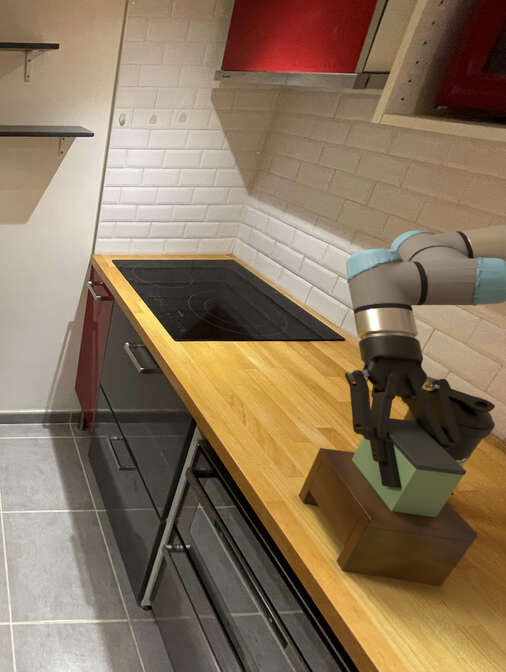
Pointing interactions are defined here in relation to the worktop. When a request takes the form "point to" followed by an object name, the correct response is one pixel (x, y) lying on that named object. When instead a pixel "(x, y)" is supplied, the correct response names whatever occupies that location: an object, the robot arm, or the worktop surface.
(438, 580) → the walnut shelf
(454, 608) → the worktop surface
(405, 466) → the box
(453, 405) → the water bottle
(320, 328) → the worktop surface
